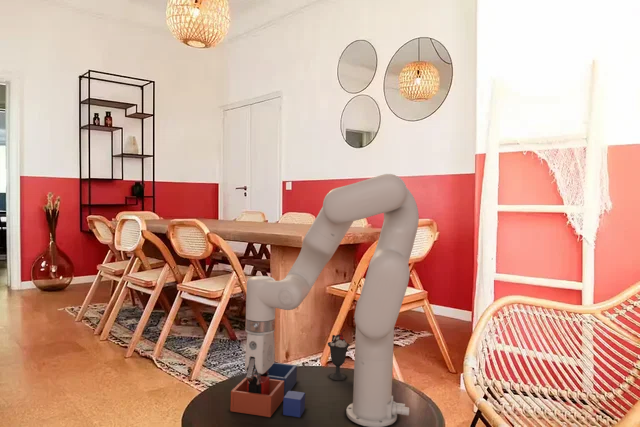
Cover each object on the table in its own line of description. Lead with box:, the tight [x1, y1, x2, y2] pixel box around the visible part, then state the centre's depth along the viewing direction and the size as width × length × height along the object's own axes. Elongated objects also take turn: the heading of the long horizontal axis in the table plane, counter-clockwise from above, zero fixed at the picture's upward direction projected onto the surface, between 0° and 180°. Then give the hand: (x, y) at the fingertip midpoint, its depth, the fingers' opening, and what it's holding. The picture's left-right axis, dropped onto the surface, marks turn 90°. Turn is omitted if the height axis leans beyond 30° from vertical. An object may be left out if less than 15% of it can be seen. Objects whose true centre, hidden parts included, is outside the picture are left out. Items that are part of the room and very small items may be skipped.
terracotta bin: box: [230, 376, 284, 418], centre depth 121 cm, size 11×11×5 cm
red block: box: [247, 375, 269, 395], centre depth 121 cm, size 4×4×4 cm
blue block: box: [282, 390, 306, 418], centre depth 118 cm, size 4×4×4 cm
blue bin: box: [253, 362, 298, 396], centre depth 133 cm, size 11×11×5 cm
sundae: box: [327, 328, 351, 381], centre depth 141 cm, size 7×7×15 cm
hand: (258, 394), depth 121 cm, fingers closed on red block, 4 cm apart
